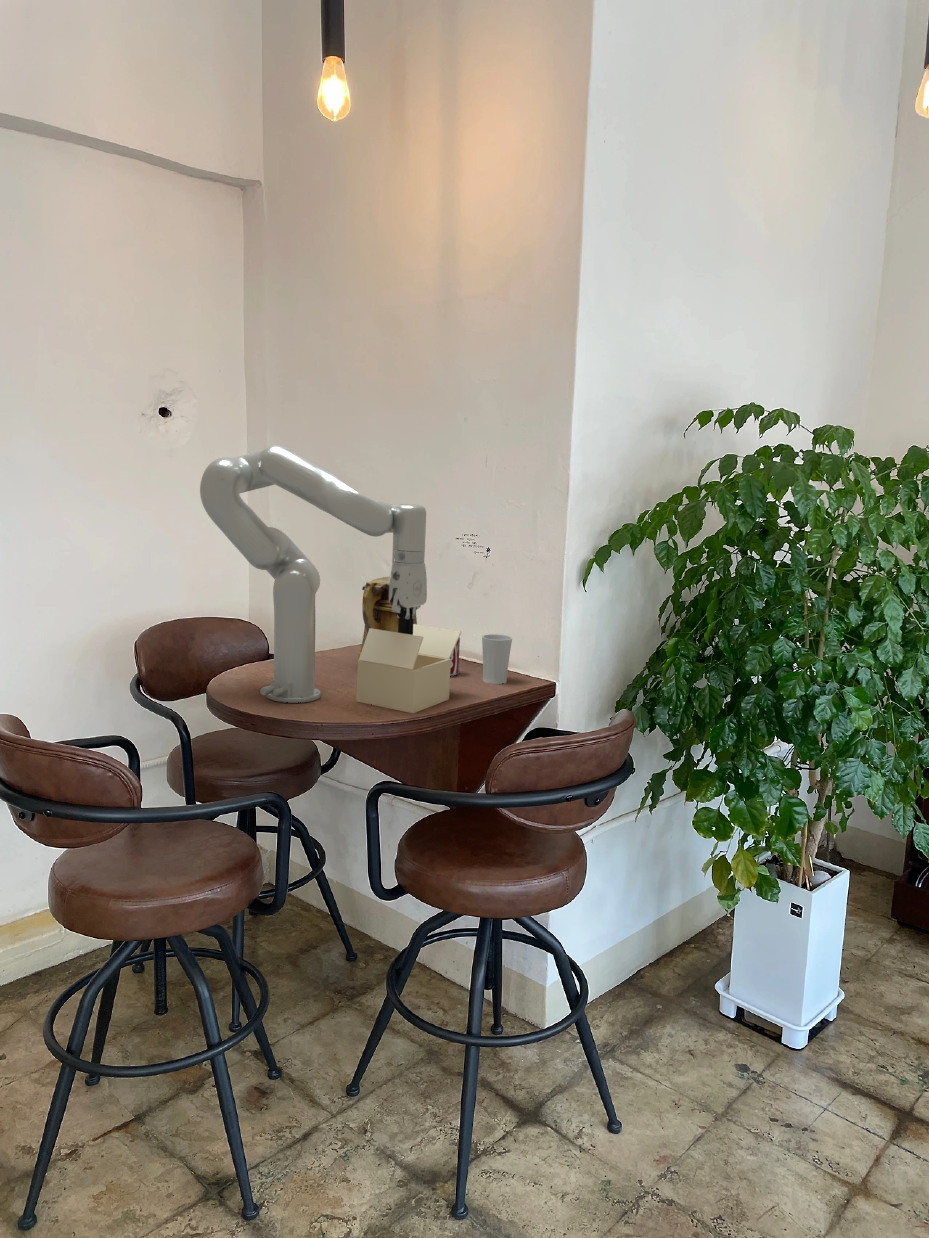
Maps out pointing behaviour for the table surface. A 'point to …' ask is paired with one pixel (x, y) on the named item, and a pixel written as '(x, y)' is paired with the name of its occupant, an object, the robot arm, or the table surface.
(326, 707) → the table surface
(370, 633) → the front flap
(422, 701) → the carton
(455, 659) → the soda can
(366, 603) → the tankard
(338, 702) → the table surface
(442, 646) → the back flap
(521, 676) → the table surface
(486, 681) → the cup
